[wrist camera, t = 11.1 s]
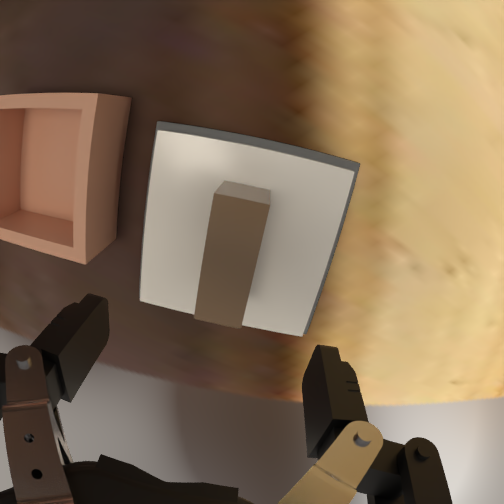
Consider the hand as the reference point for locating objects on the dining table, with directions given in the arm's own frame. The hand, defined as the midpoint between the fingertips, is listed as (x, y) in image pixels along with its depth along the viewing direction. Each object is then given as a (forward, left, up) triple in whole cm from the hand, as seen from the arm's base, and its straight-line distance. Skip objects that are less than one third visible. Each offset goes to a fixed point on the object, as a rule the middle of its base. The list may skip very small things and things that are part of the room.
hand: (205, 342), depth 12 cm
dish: (-3, -15, -13) cm, 20 cm away
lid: (0, 0, -12) cm, 12 cm away
